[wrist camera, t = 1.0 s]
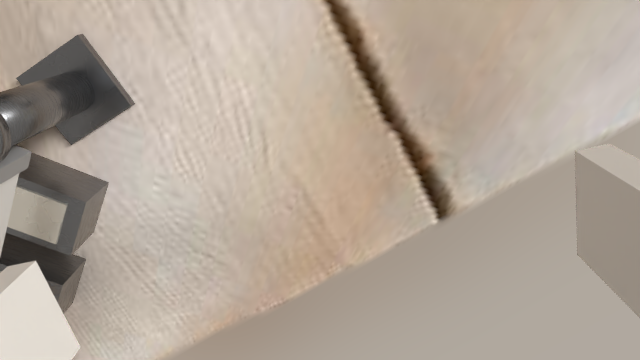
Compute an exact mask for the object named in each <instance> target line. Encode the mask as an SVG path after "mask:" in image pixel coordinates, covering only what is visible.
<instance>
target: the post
mask: <svg viewBox="0 0 640 360" xmlns="http://www.w3.org/2000/svg"><path fill="white" fill-rule="evenodd" d="M16 79H17V80H18V81H19V82H20V84H21V85H22V86H19V87H16V88H13V89H9V90H6V91H3V92H0V162H1V161H3V160H4V159H5V158H6V156H7V155H8V153H9V151H10V147H11V146H13V145H15V144H18V143H20V142H22V141H24V140H26V139H28V138H30V137H32V136H34V135H36V134H38V133H40V132H42V131H44V130H46V129H48V128H50V127H52V126H54V125H55V126H56V127H57V128H58V130H59V131H60V132H61V133H62V134H63V136H64V137H65V138H66V139H67V140H68V142H69V143H70V144H71V145H72V144H73V143H75V142H77V141H78V140H80V139H81V138H83V137H84V136H86V135H87V134H89V133H91V132H92V131H94V130H95V129H97V128H98V127H100V126H101V125H103V124H104V123H106V122H108V121H109V120H111V119H112V118H114V117H115V116H117V115H118V114H120V113H121V112H123V111H124V110H126V109H128V108H129V107H131V106H132V105H134V104H135V103H134V102H133V100H132V99H131V98H130V96H129V95H128V94H127V92H126V91H125V90H124V88H123V87H122V86H121V84H120V83H119V82H118V80H117V79H116V78H115V76H114V75H113V74H112V72H111V71H110V70H109V68H108V67H107V66H106V64H105V63H104V62H103V60H102V59H101V58H100V56H99V55H98V54H97V52H96V51H95V50H94V48H93V47H92V46H91V44H90V43H89V42H88V40H87V39H86V38H85V36H84V35H83V34H80V35H77V36H75V37H74V38H73V39H71V40H70V41H68V42H67V43H65V44H64V45H63V46H61V47H60V48H58V49H57V50H56V51H54V52H53V53H51V54H50V55H48V56H47V57H46V58H44V59H43V60H41V61H40V62H39V63H37V64H36V65H34V66H33V67H31V68H30V69H29V70H27V71H26V72H24V73H23V74H21V75H20V76H19V77H17V78H16Z"/></svg>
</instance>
